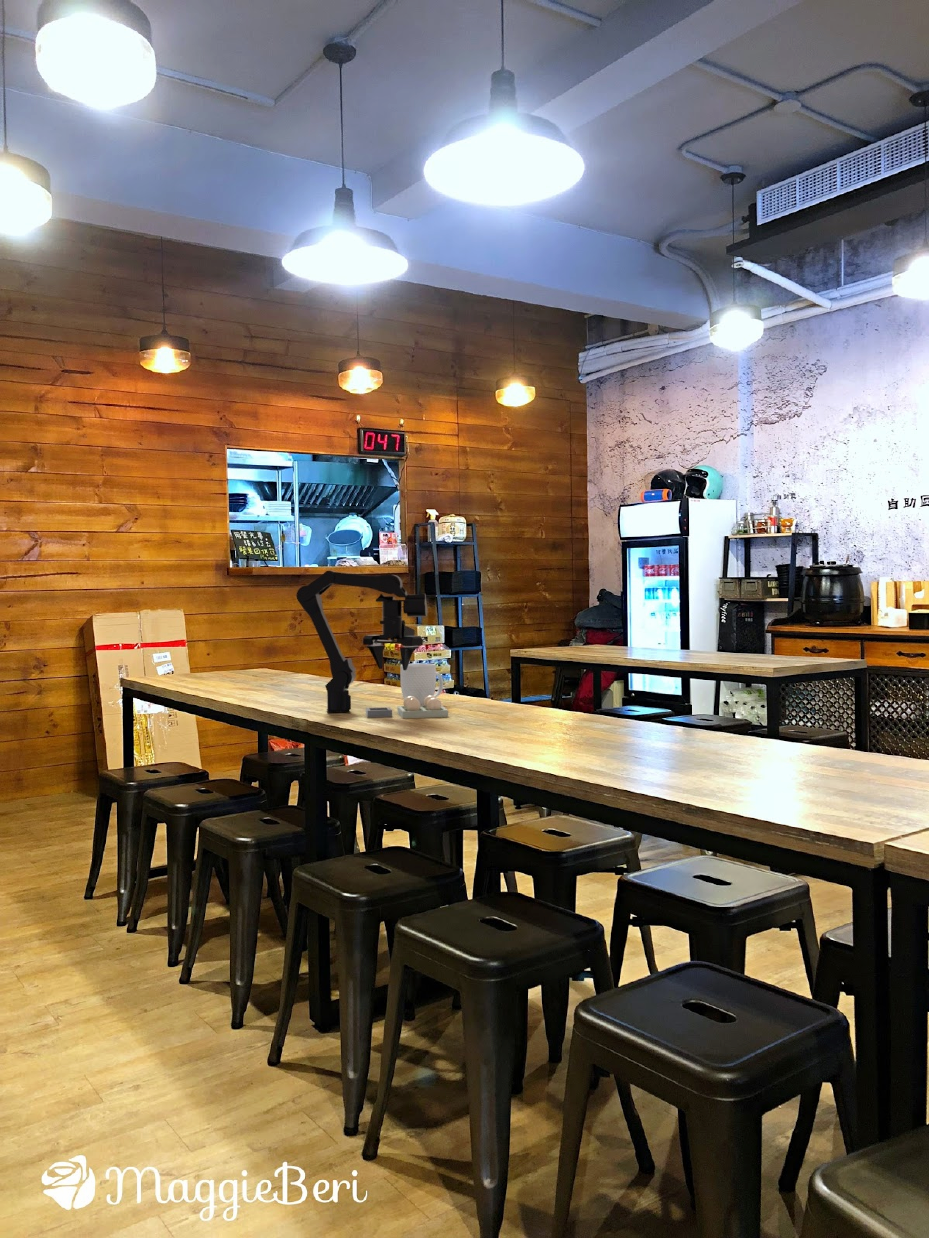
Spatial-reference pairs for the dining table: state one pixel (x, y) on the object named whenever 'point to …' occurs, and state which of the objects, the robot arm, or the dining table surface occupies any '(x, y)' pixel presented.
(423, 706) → the carton
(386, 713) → the dish
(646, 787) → the dining table surface
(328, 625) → the robot arm
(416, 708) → the egg
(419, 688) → the mug
